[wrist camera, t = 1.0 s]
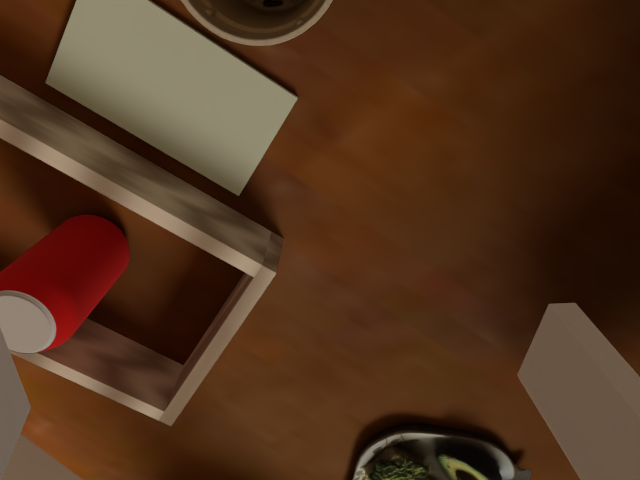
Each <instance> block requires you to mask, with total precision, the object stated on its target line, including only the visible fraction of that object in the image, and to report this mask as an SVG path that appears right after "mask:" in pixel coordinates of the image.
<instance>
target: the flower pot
mask: <svg viewBox="0 0 640 480" xmlns="http://www.w3.org/2000/svg"><path fill="white" fill-rule="evenodd" d="M181 1H182V3H183V4H184V5H185V7H186V8H187V10H188V11H189V12H190V13H191V14H192V15H193V16H194V17H195V18H196V19H197V20H198V21H199V22H200V23H201V24H202V25H203V26H205V27H206V28H207V29H209V30H210V31H212V32H213V33H215V34H217V35H218V36H220V37H222V38H224V39H227V40H229V41H232V42H236V43H240V44H246V45H253V46H264V45H273V44H278V43H282V42H285V41H288V40H290V39H292V38H295V37H296V36H298V35H300V34H302V33H303V32H305V31H306V30H307V29H309V28H310V27H311V26H312V25H314V24H315V23H316V22H317V21H318V20H319V19H320V17H321V16H322V15H323V14H324V13H325V11H326V10H327V9H328V7H329V5H330V4H331V2H332V1H333V0H281V1H282V3H283V4H282V5H278V6H274V7H266V6H264V3H263V2H264V1H265V0H181ZM272 1H276V0H272Z"/></svg>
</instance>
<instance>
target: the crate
mask: <svg viewBox="0 0 640 480" xmlns="http://www.w3.org/2000/svg"><path fill="white" fill-rule="evenodd" d="M0 138H1V139H3V140H5V141H7V142H9V143H10V144H12V145H14V146H16V147H18V148H19V149H21V150H23V151H25V152H27V153H29V154H30V155H32V156H34V157H36V158H38V159H39V160H41V161H43V162H45V163H47V164H49V165H50V166H52V167H54V168H56V169H58V170H59V171H61V172H63V173H65V174H67V175H69V176H70V177H72V178H74V179H76V180H78V181H79V182H81V183H83V184H85V185H87V186H89V187H90V188H92V189H94V190H96V191H98V192H99V193H101V194H103V195H105V196H107V197H109V198H110V199H112V200H114V201H116V202H118V203H120V204H121V205H123V206H125V207H127V208H129V209H130V210H132V211H134V212H136V213H138V214H140V215H141V216H143V217H145V218H147V219H149V220H150V221H152V222H154V223H156V224H158V225H160V226H161V227H163V228H165V229H167V230H169V231H170V232H172V233H174V234H176V235H178V236H180V237H181V238H183V239H185V240H187V241H189V242H190V243H192V244H194V245H196V246H198V247H200V248H201V249H203V250H205V251H207V252H209V253H210V254H212V255H214V256H216V257H218V258H220V259H221V260H223V261H225V262H227V263H229V264H230V265H232V266H234V267H236V268H238V269H240V270H241V271H243V272H245V273H244V274H243V276H242V277H241V279H240V280H239V282H238V283H237V285H236V286H235V288H234V289H233V291H232V292H231V294H230V296H229V297H228V299H227V300H226V302H225V303H224V305H223V306H222V308H221V309H220V311H219V312H218V314H217V315H216V317H215V318H214V320H213V321H212V323H211V325H210V326H209V328H208V329H207V331H206V332H205V334H204V335H203V337H202V338H201V340H200V341H199V343H198V344H197V346H196V347H195V349H194V350H193V352H192V354H191V355H190V357H189V358H188V360H187V361H186V363H185V364H184V365H182V364H180V363H178V362H176V361H174V360H172V359H170V358H168V357H166V356H163V355H161V354H159V353H157V352H155V351H153V350H151V349H149V348H147V347H145V346H143V345H141V344H139V343H137V342H135V341H133V340H131V339H129V338H127V337H125V336H123V335H121V334H118V333H116V332H114V331H112V330H110V329H108V328H106V327H104V326H102V325H100V324H98V323H96V322H94V321H92V320H90V319H88V318H86V319H85V320H84V322H83V323H82V324H81V325H80V327H79V328H78V329H77V330H76V332H75V333H74V334H73V335H72V336H71V337H70V338H69V339H68V340H67V341H66V342H64V343H63V344H61V345H59V346H58V347H55V348H53V349H50V350H46V351H42V352H38V353H33V354H23V353H17V352H13V351H10V350H9V352H10V353H12V354H14V355H16V356H18V357H20V358H23V359H25V360H27V361H29V362H31V363H34V364H36V365H38V366H40V367H42V368H44V369H47V370H49V371H51V372H53V373H55V374H58V375H60V376H62V377H64V378H66V379H69V380H71V381H73V382H75V383H77V384H80V385H82V386H84V387H86V388H88V389H90V390H93V391H95V392H97V393H99V394H101V395H104V396H106V397H108V398H110V399H112V400H115V401H117V402H119V403H121V404H123V405H125V406H128V407H130V408H132V409H134V410H136V411H139V412H141V413H143V414H145V415H147V416H150V417H152V418H154V419H156V420H158V421H161V422H163V423H165V424H167V425H169V426H172V424H173V423H174V421H175V420H176V419H177V417H178V416H179V414H180V413H181V411H182V410H183V408H184V407H185V405H186V404H187V403H188V401H189V400H190V398H191V397H192V395H193V394H194V392H195V391H196V389H197V388H198V387H199V385H200V384H201V382H202V381H203V379H204V378H205V376H206V375H207V373H208V372H209V371H210V369H211V368H212V366H213V365H214V363H215V362H216V360H217V359H218V358H219V356H220V355H221V353H222V352H223V350H224V349H225V347H226V346H227V344H228V343H229V342H230V340H231V339H232V337H233V336H234V334H235V333H236V331H237V330H238V328H239V327H240V326H241V324H242V323H243V321H244V320H245V318H246V317H247V315H248V314H249V312H250V311H251V310H252V308H253V307H254V305H255V304H256V302H257V301H258V299H259V298H260V297H261V295H262V294H263V292H264V291H265V289H266V288H267V286H268V285H269V283H270V282H271V281H272V279H273V278H274V276H275V275H276V273H277V268H278V264H279V259H280V254H281V249H282V245H283V240H284V238H282V237H280V236H278V235H277V234H275V233H273V232H271V231H270V230H268V229H266V228H264V227H263V226H261V225H259V224H258V223H256V222H254V221H252V220H251V219H249V218H247V217H245V216H244V215H242V214H240V213H238V212H237V211H235V210H233V209H232V208H230V207H228V206H226V205H225V204H223V203H221V202H219V201H218V200H216V199H214V198H213V197H211V196H209V195H207V194H206V193H204V192H202V191H200V190H199V189H197V188H195V187H193V186H192V185H190V184H188V183H187V182H185V181H183V180H181V179H180V178H178V177H176V176H174V175H173V174H171V173H169V172H167V171H166V170H164V169H162V168H161V167H159V166H157V165H155V164H154V163H152V162H150V161H148V160H147V159H145V158H143V157H142V156H140V155H138V154H136V153H135V152H133V151H131V150H129V149H128V148H126V147H124V146H122V145H121V144H119V143H117V142H116V141H114V140H112V139H110V138H109V137H107V136H105V135H103V134H102V133H100V132H98V131H97V130H95V129H93V128H91V127H90V126H88V125H86V124H84V123H83V122H81V121H79V120H77V119H76V118H74V117H72V116H71V115H69V114H67V113H65V112H64V111H62V110H60V109H58V108H57V107H55V106H53V105H51V104H50V103H48V102H46V101H45V100H43V99H41V98H39V97H38V96H36V95H34V94H32V93H31V92H29V91H27V90H26V89H24V88H22V87H20V86H19V85H17V84H15V83H13V82H12V81H10V80H8V79H6V78H5V77H3V76H1V75H0Z"/></svg>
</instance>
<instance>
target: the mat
mask: <svg viewBox="0 0 640 480" xmlns="http://www.w3.org/2000/svg"><path fill="white" fill-rule="evenodd" d="M45 83H46V84H48V85H50V86H51V87H53V88H55V89H56V90H58V91H60V92H61V93H63V94H65V95H67V96H68V97H70V98H72V99H73V100H75V101H77V102H79V103H80V104H82V105H84V106H85V107H87V108H89V109H91V110H92V111H94V112H96V113H97V114H99V115H101V116H102V117H104V118H106V119H108V120H109V121H111V122H113V123H114V124H116V125H118V126H120V127H121V128H123V129H125V130H126V131H128V132H130V133H131V134H133V135H135V136H137V137H138V138H140V139H142V140H143V141H145V142H147V143H149V144H150V145H152V146H154V147H155V148H157V149H159V150H161V151H162V152H164V153H166V154H167V155H169V156H171V157H172V158H174V159H176V160H178V161H179V162H181V163H183V164H184V165H186V166H188V167H190V168H191V169H193V170H195V171H196V172H198V173H200V174H202V175H203V176H205V177H207V178H208V179H210V180H212V181H213V182H215V183H217V184H219V185H220V186H222V187H224V188H225V189H227V190H229V191H231V192H232V193H234V194H236V195H237V196H239V195H240V193H241V192H242V190H243V188H244V187H245V185H246V183H247V182H248V180H249V178H250V177H251V175H252V174H253V172H254V170H255V169H256V167H257V165H258V164H259V162H260V160H261V159H262V157H263V155H264V154H265V152H266V150H267V149H268V147H269V145H270V144H271V142H272V140H273V139H274V137H275V135H276V134H277V132H278V130H279V129H280V127H281V125H282V124H283V122H284V120H285V119H286V117H287V115H288V114H289V112H290V110H291V109H292V107H293V105H294V104H295V102H296V100H297V99H298V97H297V96H296V95H294V94H293V93H291V92H290V91H288V90H287V89H285V88H284V87H282V86H281V85H279V84H278V83H276V82H274V81H273V80H271V79H270V78H268V77H267V76H265V75H264V74H262V73H261V72H259V71H258V70H256V69H255V68H253V67H252V66H250V65H248V64H247V63H245V62H244V61H242V60H241V59H239V58H238V57H236V56H235V55H233V54H232V53H230V52H229V51H227V50H226V49H224V48H222V47H221V46H219V45H218V44H216V43H215V42H213V41H212V40H210V39H209V38H207V37H206V36H204V35H203V34H201V33H200V32H198V31H196V30H195V29H193V28H192V27H190V26H189V25H187V24H186V23H184V22H183V21H181V20H180V19H178V18H177V17H175V16H174V15H172V14H170V13H169V12H167V11H166V10H164V9H163V8H161V7H160V6H158V5H157V4H155V3H154V2H152V1H151V0H76V3H75V5H74V8H73V11H72V13H71V16H70V19H69V21H68V24H67V27H66V29H65V32H64V35H63V37H62V40H61V43H60V45H59V48H58V50H57V53H56V56H55V58H54V61H53V64H52V66H51V69H50V72H49V74H48V77H47V80H46V82H45Z"/></svg>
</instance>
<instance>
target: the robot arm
mask: <svg viewBox="0 0 640 480" xmlns="http://www.w3.org/2000/svg"><path fill="white" fill-rule="evenodd" d="M517 376H518V378H519V379H520V381H521V383H522V384H523V386H524V388H525V389H526V391H527V392H528V394H529V396H530V397H531V399H532V401H533V402H534V404H535V406H536V407H537V409H538V411H539V412H540V414H541V416H542V417H543V419H544V420H545V422H546V424H547V425H548V427H549V429H550V430H551V432H552V434H553V435H554V437H555V439H556V440H557V442H558V444H559V445H560V447H561V448H562V450H563V452H564V453H565V455H566V457H567V458H568V460H569V462H570V463H571V465H572V467H573V468H574V470H575V472H576V473H577V475H578V476H579V478H580V480H640V377H639V376H638V375H637V373H636V372H635V371H634V370H633V369H632V368H631V366H630V365H629V364H628V363H627V362H626V361H625V360H624V358H623V357H622V356H621V355H620V354H619V353H618V351H617V350H616V349H615V348H614V347H613V346H612V345H611V343H610V342H609V341H608V340H607V339H606V338H605V336H604V335H603V334H602V333H601V332H600V331H599V330H598V328H597V327H596V326H595V325H594V324H593V323H592V321H591V320H590V319H589V318H588V317H587V316H586V315H585V313H584V312H583V311H582V310H581V309H580V308H579V306H578V305H577V304H576V303H557V304H549V305H548V307H547V309H546V311H545V314H544V316H543V318H542V320H541V323H540V325H539V327H538V329H537V332H536V334H535V336H534V338H533V341H532V343H531V345H530V347H529V350H528V352H527V354H526V356H525V359H524V361H523V363H522V365H521V368H520V370H519V372H518V374H517ZM30 409H31V406H30V403H29V401H28V398H27V396H26V393H25V390H24V388H23V385H22V383H21V380H20V378H19V375H18V372H17V370H16V367H15V365H14V362H13V359H12V357H11V354H10V352H9V349H8V346H7V344H6V341H5V339H4V336H3V333H2V331H1V328H0V480H2V478H3V475H4V472H5V470H6V468H7V465H8V463H9V460H10V458H11V455H12V453H13V450H14V448H15V446H16V443H17V441H18V438H19V436H20V433H21V431H22V428H23V426H24V423H25V421H26V419H27V416H28V414H29V411H30Z"/></svg>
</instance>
